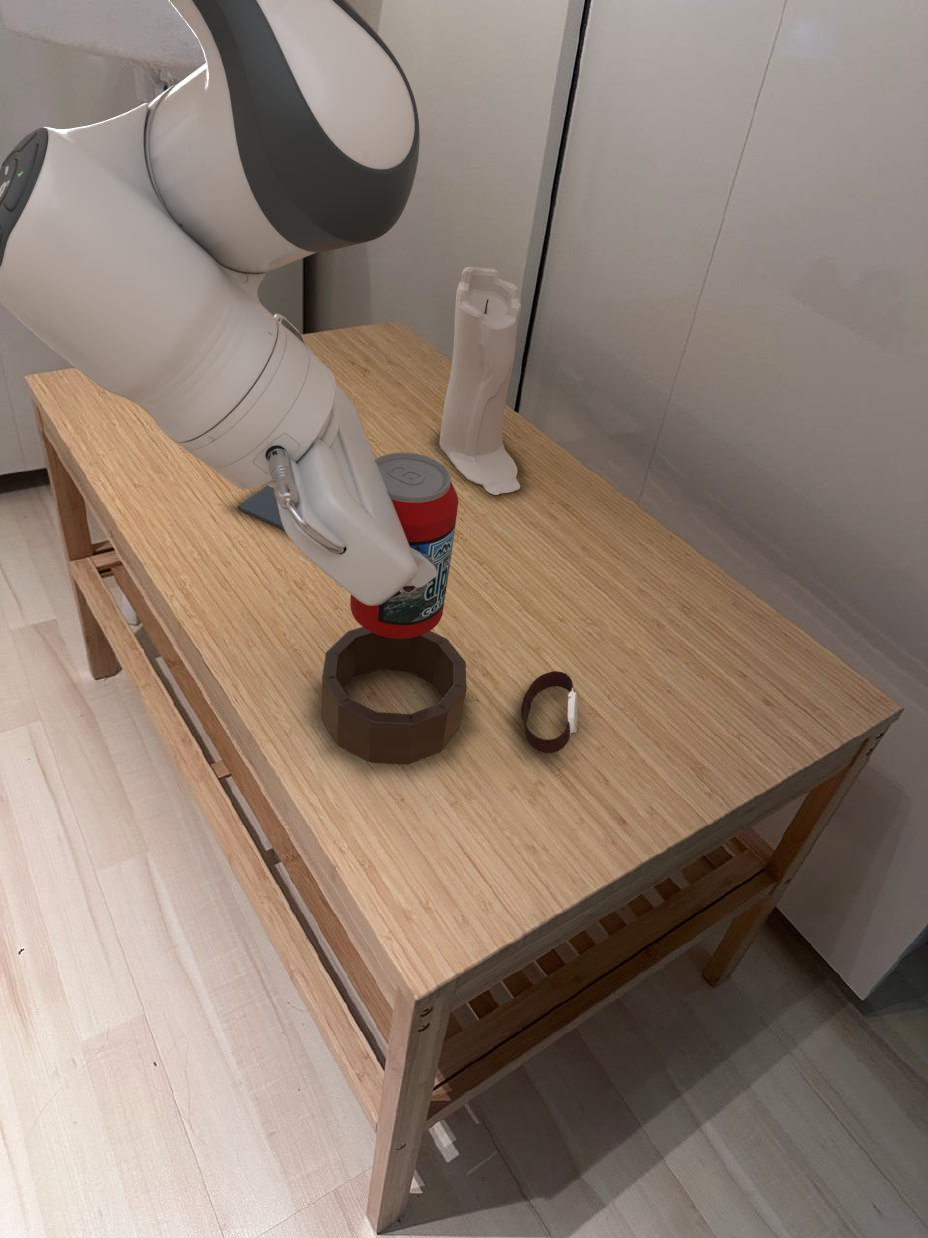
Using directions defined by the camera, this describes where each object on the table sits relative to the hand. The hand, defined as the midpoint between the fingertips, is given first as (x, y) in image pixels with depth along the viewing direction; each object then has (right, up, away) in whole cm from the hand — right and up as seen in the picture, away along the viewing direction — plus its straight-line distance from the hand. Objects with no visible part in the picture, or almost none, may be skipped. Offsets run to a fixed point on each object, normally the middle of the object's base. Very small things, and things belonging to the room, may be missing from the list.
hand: (412, 537), depth 59 cm
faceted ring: (-2, -13, +10) cm, 16 cm away
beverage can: (-1, -5, +4) cm, 7 cm away
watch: (+10, -14, +11) cm, 21 cm away
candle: (+6, +12, +40) cm, 42 cm away
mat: (-11, +6, +30) cm, 32 cm away
